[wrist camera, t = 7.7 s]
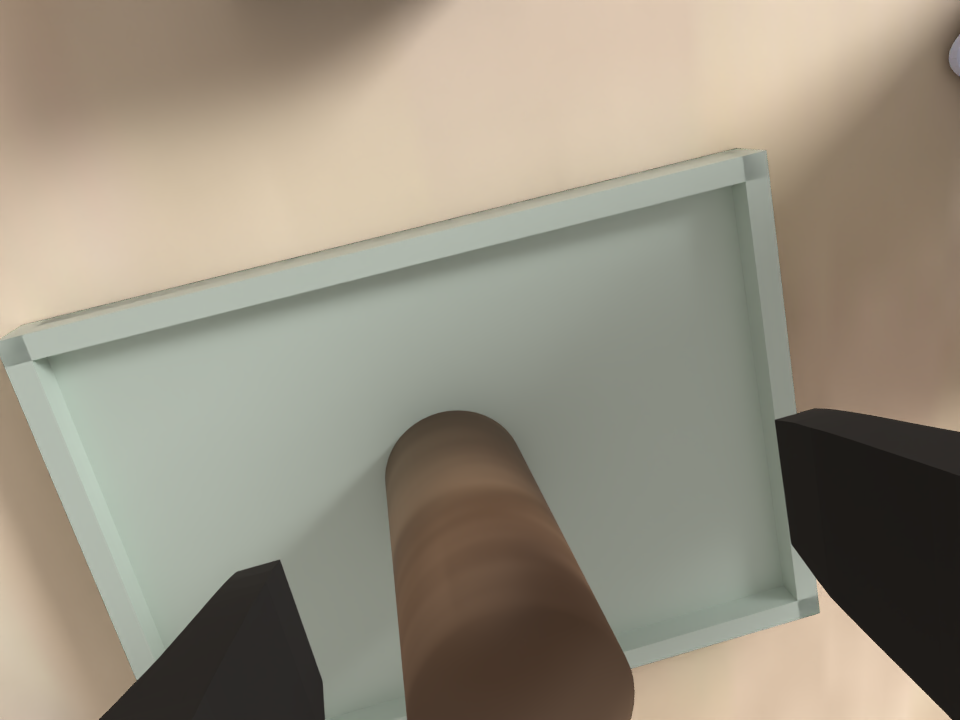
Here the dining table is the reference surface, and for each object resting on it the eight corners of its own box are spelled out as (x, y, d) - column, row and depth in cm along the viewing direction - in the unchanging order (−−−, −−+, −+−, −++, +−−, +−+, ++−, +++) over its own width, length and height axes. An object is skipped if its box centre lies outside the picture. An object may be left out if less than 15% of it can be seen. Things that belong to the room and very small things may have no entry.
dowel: (549, 451, 22) (677, 666, 13) (475, 560, 22) (552, 834, 14) (433, 385, 21) (490, 570, 12) (358, 500, 21) (363, 755, 13)
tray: (736, 148, 21) (766, 150, 19) (791, 582, 25) (819, 613, 23) (21, 324, 20) (-6, 342, 18) (197, 756, 24) (187, 799, 22)
